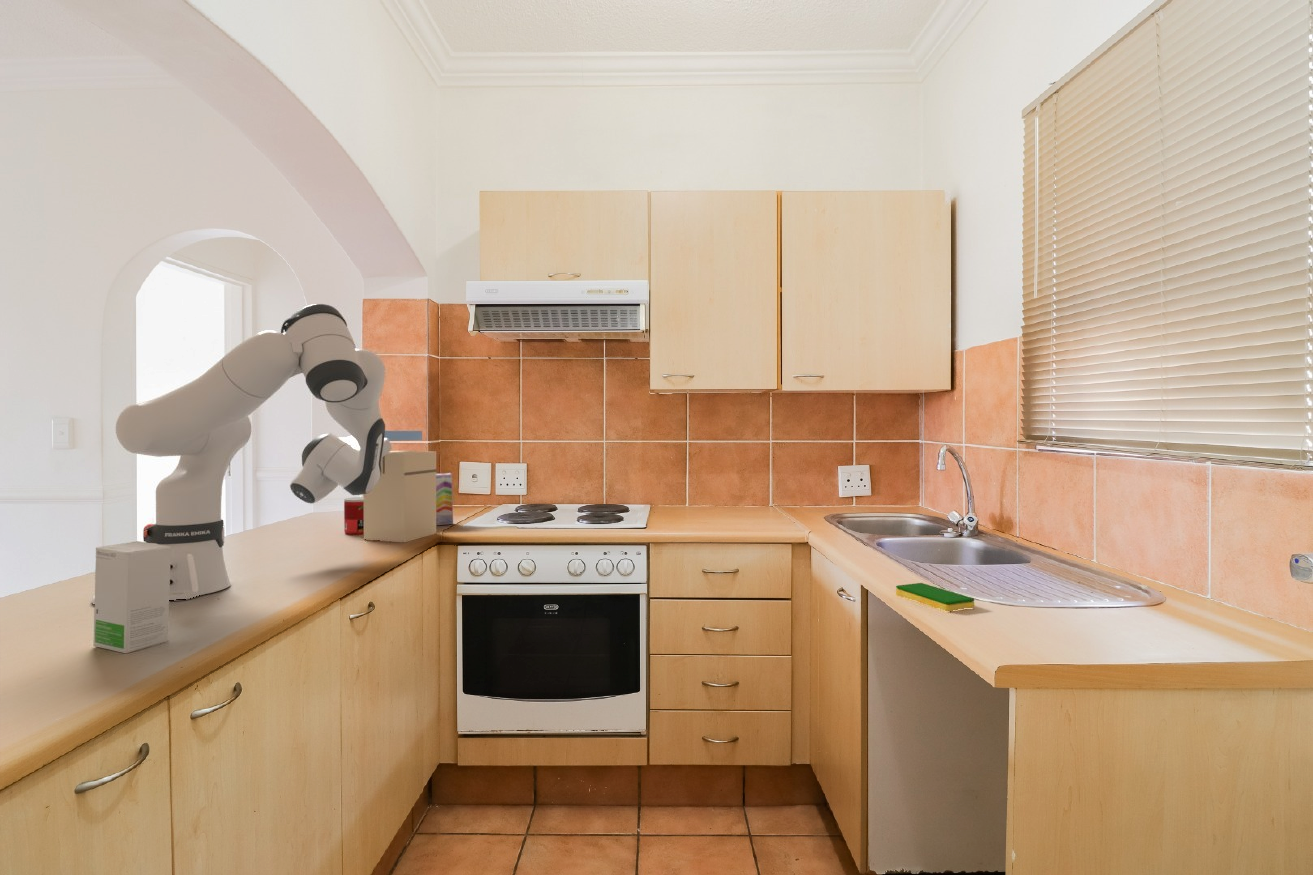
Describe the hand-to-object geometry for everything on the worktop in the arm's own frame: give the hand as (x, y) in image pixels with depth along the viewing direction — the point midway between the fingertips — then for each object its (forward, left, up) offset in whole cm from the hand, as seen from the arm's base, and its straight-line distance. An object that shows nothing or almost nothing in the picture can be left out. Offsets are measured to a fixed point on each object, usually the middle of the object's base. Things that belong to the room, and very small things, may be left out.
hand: (370, 433), depth 188 cm
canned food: (-1, +22, -32) cm, 39 cm away
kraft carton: (+10, +9, -32) cm, 34 cm away
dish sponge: (+90, -119, -32) cm, 153 cm away
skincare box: (-43, -74, -32) cm, 91 cm away
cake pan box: (+20, +28, -32) cm, 47 cm away
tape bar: (+7, +7, -2) cm, 10 cm away
